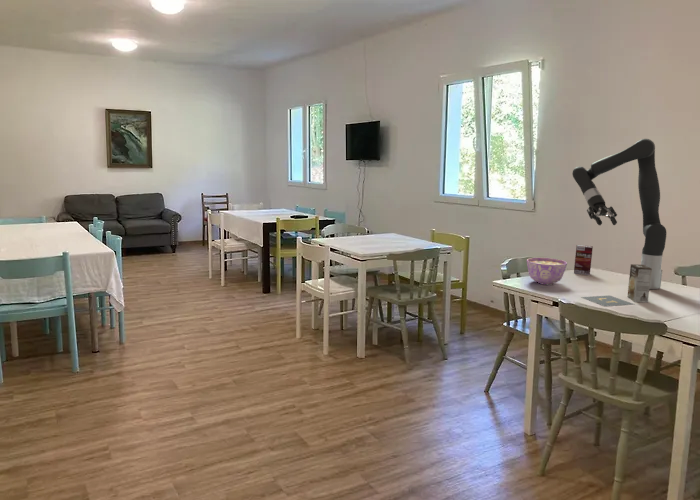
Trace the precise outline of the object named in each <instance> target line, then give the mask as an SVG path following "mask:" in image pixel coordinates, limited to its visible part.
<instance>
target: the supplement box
mask: <svg viewBox="0 0 700 500" xmlns="http://www.w3.org/2000/svg"><path fill="white" fill-rule="evenodd" d="M575 247H576V248H575V256H574V257H575V258H574V267H573V274H575V275H576V274H577V275H585V276H587V275H588V276H591V267H592V260H593V259H592V257H593V248H594V247H593V246H591V245H581V244H580V245H579V244H578V245H577V244H576V246H575Z"/></svg>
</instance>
